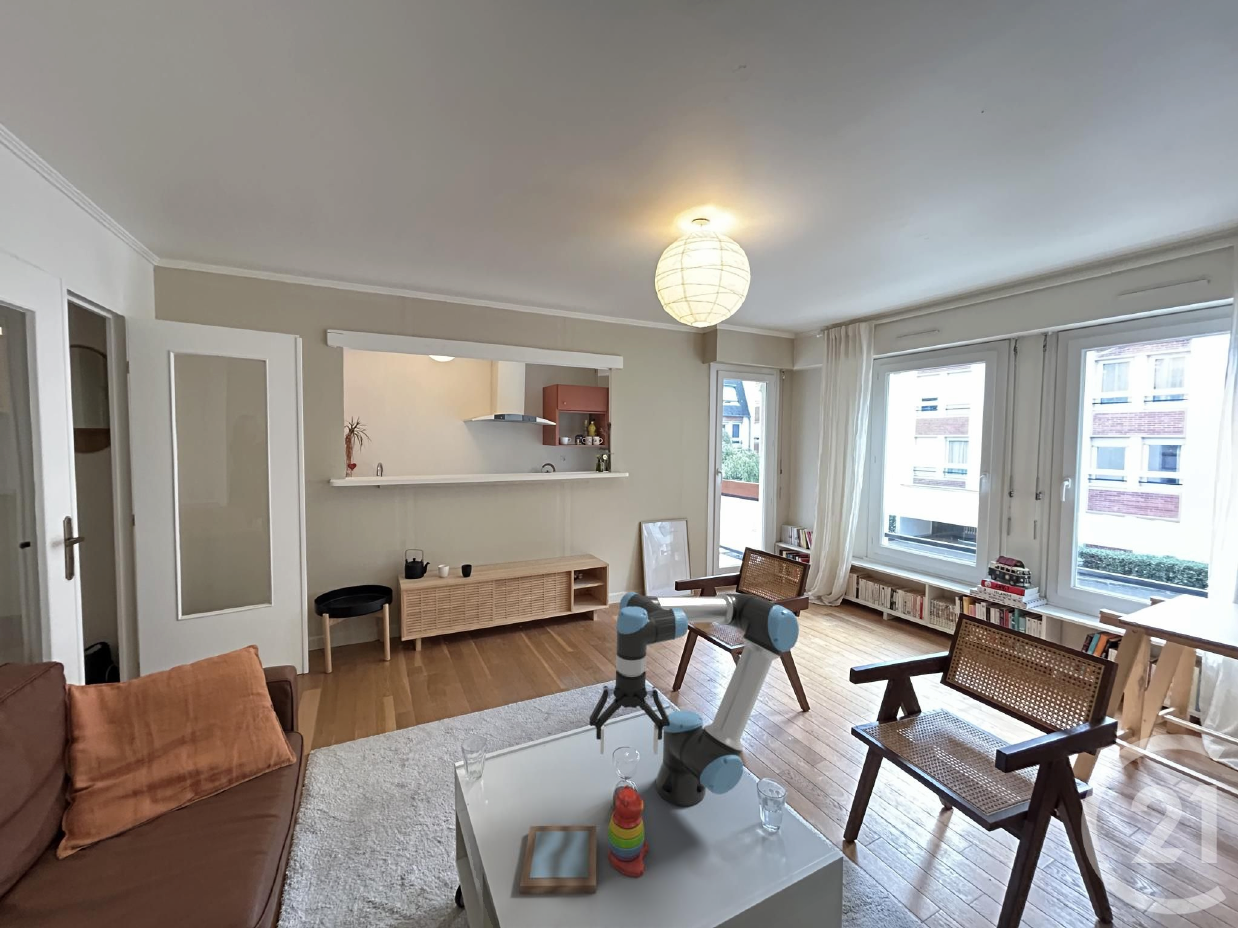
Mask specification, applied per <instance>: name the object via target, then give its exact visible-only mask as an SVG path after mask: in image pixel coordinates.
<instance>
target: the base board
mask: <svg viewBox="0 0 1238 928" xmlns="http://www.w3.org/2000/svg"><path fill="white" fill-rule="evenodd" d="M525 847H526V848H525V854H524V859H523V866H522V870H521V871H522V872H521V876H520V882H519V883H520V884H519V894H520V895H524V894H525V895H527V894H528V895H533V894H539V895H541V894H543V895H544V894H596V893H597V825H536V826H535V825H531V826H529V830H528V837H527V842H526V846H525Z"/></svg>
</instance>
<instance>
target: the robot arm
mask: <svg viewBox="0 0 1238 928" xmlns="http://www.w3.org/2000/svg"><path fill="white" fill-rule="evenodd" d="M618 609H619V611H618V614H617V620H616V655H615V669H616V670H615V687H614V688H609V687H608V686H607V685H604V686H603V687H602V688H603V689H602V694H601V696H600V698H599V700H598V702H597V703H596V705H595V707H594V709H593V710H592V713H591V715H590V716H589V726H590V727H595V728H596V730H595V731H596V734H595V735H596V737H595V738H596V740H597V741H598V740H599V741H600V755H604V748H605V747H604V743H605V740H604V739H605V724H606V723H607V722H608V721H609V719H610V718H611V717H612V716H613V715H614V714H615V712H616V711H619V709H621V707H623V708H625V709H626V708H633V709H636V708H637V707H639V708H640V709H641V710H642V711H643V712H644V713H645V714H646V715H647V716H648V718H649V719H650V721H652V722H653V725H654V726H653V752H654V753H653V754H654V755H658V746H659V745H658V744H659V741H662V740H663V743H662V746H663V748H662V762H661V764H660V766H659V770H658V772H657V776H656V779H655V780H656V781H655V783H656V785H655V787H656V790H657V793H658V794H659V796H660V797H661V798H662V799H663V800H665V801H666V802H668V803H670V804H672V805H674V806H675V805H676V806H682V807H683V806H685V807H687V806H688V807H689V806H693V805H696V804H698V803H700V802H701V801H702V800H703V799H704V798H705V795H706V793H707V791H706V789H707V790H709V791H710V792H711V793H713V794H714V795H722V794H727V793H728V792H729V791H731V790H733V789H734V788H736V786H737V785H738V784H739V782H740V780H741V779H742V776H743V773H744V770H745V769H744V762H743V761H742V758H741V757H740V756H741V753H742V751H743V746H742V742H741V738H742V736H743V733H744V731H745V729H746V726H747V724H748V721H749V719H750V716H751V714H752V712H753V710H754V706H755V705H756V702H757V700H758V698H759V695H760V693H761V690H762V687H763V685H764V682H765V680H766V678H767V676H768V673H769V670H770V668H771V666H772V663H773V662H774V660H778V659H780V658H781V656H782V653H784V652H789V651H791V650H792V649H793V648H794V647H795V645H796V644H797V641H798V638H799V633H800V628H799V627H800V626H799V623H798V622H799V621H798V618H797V617H796V615H795V614H794V612H793V611H791V610H790V609H787V608H786V607H784V606H782V605H780V604H776V603H775V602H771V601H769V600H768V599H767V600H766V599H764V598H761V597H759V596H757V595H753V594H750V593H749V594H748V593H718V594H716V595H715V596H662V595H661V596H658V595H656V596H653V595H652V596H651V595H641V594H640V593H638V592H634V591H630V592H627V593H626V594H624V595H623V596H622V597H621V599H620V601H619V606H618ZM690 623H716V624H717V625H720V626H729V627H733V628H734V629H735V628H736V629H738V630H739V631H742V632H744V634H743V636H742V642H743V643H744V647H743V650H742V652H741V654H740V657H739V660H738V662H737V664H736V666H735V669H734V671H733V674H732V675H731V678H730V681H729V682H728V685H727V687H726V690H725V692H724V694H723V697H722V699H721V701H720V704H719V706H718V708H717V710H716V714H715V716H714V718H713V720H712V722H711V723H710V724H706V725H704V721H703V717H702V716H701V715H700V714H699V713H697V712H695V711H691V710H676V711H673V712H670V713H669V714H667V712H666V709H665V708H664V705H663V703H662V701H661V699H660V697H659V692H658V688H657V686H655V685H654V686H652V688H646V677H647V675H646V674H647V673H646V669H647V649H648V646H649V645H654V644H657V643H658V644H659V643H663V642H667V641H672V640H673V641H674V640H676V639H678V638H682V637H684V636H685V635H686V634H687V633H688V629H689V628H688V627H689V624H690ZM647 695H648V696H649V698H651V699H653V702H654V705H655V707H656V709H657V710H658V713H659V715H660V716H659V715H658V714H657V712H655V710H654V709H653V708H652V707H651V705H650V704H649V703H648V702H647V701H646V698H647ZM611 696H614V697H615V698H614V699H613V701H612V702H611V703H610V705H609V706H608V707H607V708H606V709H605V710H604V711H603V708H604V707H605V706H606V704H607V701H608V699H610V698H611ZM602 711H603V712H602ZM601 713H602V714H601ZM703 726H704V727H703Z"/></svg>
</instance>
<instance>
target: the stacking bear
mask: <svg viewBox="0 0 1238 928" xmlns="http://www.w3.org/2000/svg"><path fill="white" fill-rule="evenodd" d="M629 785H630V784H626V785H625V786H624V788H623V789H621V790H619V791H618V792H617V793H616V796H615V798H614V808H615V810H614V811H613V812H612V815H611V817H610V819H609V824H608V829H607V830H608V831H607V832H608V833H607V838H608V843H609V844H608V845H609V850H608V855H607V857H608V861H609V863H610V865H611V866H612V867H613V868H614V869H615V870H617V871H618V872H620V873H622V874H624V875H627V876H629V877H635V878H639V877H641V876H643V875H644V873H645V871H646V868H645V863H644V861H643V859H644V856H645V855H647V854H648V852H649V843H648V842H647V841H646V840H645V826H644V825H645V824H644V821H643V817H642V812H643V810H644V807H645V804H644V801H643V799H642V797H641V796H640V795H639V793H638V792H637V791H636V790H634V789H633V788H630V786H629Z"/></svg>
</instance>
